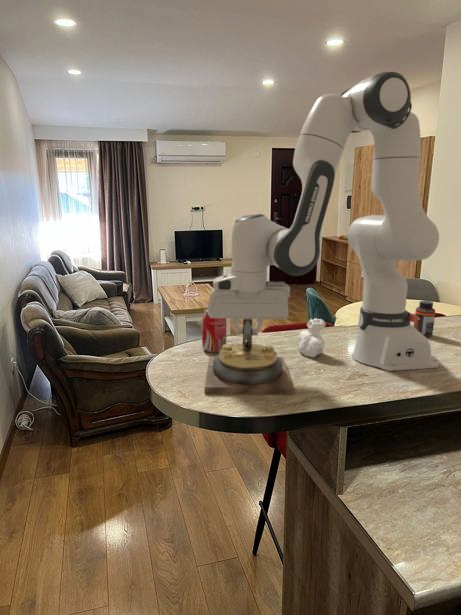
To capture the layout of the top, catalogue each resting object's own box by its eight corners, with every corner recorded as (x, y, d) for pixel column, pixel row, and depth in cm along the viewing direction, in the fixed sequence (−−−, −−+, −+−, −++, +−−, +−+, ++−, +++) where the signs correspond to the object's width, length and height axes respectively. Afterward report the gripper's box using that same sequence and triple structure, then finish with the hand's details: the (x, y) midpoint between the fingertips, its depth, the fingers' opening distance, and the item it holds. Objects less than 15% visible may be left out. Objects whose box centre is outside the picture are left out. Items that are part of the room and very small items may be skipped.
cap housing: (283, 362, 118) (283, 348, 117) (293, 394, 98) (294, 377, 97) (209, 361, 118) (209, 347, 117) (204, 393, 98) (204, 376, 97)
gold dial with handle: (273, 351, 114) (274, 318, 112) (279, 371, 100) (280, 334, 98) (220, 350, 114) (220, 317, 112) (218, 371, 100) (218, 333, 98)
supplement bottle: (409, 332, 147) (412, 299, 144) (426, 332, 147) (430, 299, 145) (418, 338, 141) (422, 303, 138) (436, 337, 142) (440, 303, 139)
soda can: (203, 345, 131) (203, 306, 128) (226, 346, 131) (227, 307, 128) (201, 353, 124) (200, 312, 121) (225, 354, 124) (226, 313, 121)
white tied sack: (321, 367, 121) (345, 334, 121) (302, 353, 118) (327, 320, 118) (301, 353, 132) (323, 323, 132) (283, 340, 129) (306, 309, 129)
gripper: (289, 279, 111) (286, 331, 114) (208, 278, 111) (208, 330, 114) (292, 284, 105) (289, 339, 108) (207, 283, 105) (207, 338, 108)
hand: (247, 334), depth 111 cm, fingers closed on gold dial with handle, 2 cm apart
